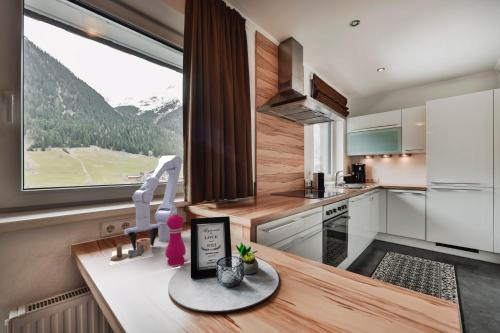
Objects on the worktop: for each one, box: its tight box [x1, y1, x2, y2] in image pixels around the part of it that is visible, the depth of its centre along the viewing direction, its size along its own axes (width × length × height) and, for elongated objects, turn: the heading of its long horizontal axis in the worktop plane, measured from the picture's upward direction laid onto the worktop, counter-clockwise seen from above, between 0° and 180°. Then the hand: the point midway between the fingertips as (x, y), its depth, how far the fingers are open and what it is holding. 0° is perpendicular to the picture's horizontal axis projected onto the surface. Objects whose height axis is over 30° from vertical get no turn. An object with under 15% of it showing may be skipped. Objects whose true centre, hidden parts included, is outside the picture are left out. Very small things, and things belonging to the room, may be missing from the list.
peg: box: [110, 244, 128, 261], centre depth 87 cm, size 6×6×5 cm
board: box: [109, 245, 154, 266], centre depth 91 cm, size 15×16×1 cm
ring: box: [136, 237, 152, 251], centre depth 96 cm, size 6×6×4 cm
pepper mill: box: [165, 210, 187, 268], centre depth 82 cm, size 7×7×20 cm
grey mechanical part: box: [128, 245, 144, 258], centre depth 90 cm, size 6×5×3 cm
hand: (143, 247), depth 96 cm, fingers open, 7 cm apart
